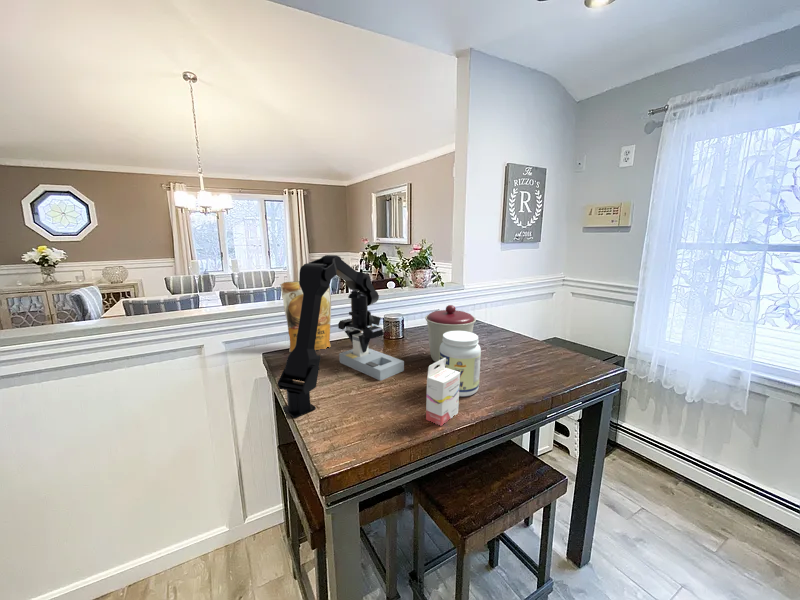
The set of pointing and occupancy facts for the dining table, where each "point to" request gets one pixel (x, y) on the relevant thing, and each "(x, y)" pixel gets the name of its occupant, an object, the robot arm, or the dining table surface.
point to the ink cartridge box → (442, 393)
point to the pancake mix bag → (293, 310)
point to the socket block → (373, 363)
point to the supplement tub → (462, 358)
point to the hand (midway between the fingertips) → (360, 350)
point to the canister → (446, 326)
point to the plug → (358, 346)
